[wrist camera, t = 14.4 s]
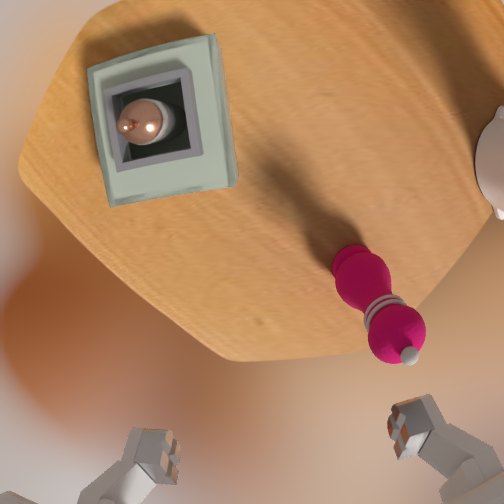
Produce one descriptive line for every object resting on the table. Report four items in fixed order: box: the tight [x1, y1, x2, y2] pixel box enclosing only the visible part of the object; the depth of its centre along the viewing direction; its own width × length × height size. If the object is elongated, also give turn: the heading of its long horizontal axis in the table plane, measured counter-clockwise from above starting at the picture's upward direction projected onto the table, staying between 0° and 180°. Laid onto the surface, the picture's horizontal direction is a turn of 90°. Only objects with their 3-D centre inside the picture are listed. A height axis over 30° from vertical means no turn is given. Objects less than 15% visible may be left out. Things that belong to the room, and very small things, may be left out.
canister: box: [116, 99, 187, 145], centre depth 28 cm, size 4×4×12 cm
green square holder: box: [87, 33, 239, 207], centre depth 30 cm, size 14×16×9 cm
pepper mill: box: [332, 245, 426, 365], centre depth 32 cm, size 7×7×20 cm
